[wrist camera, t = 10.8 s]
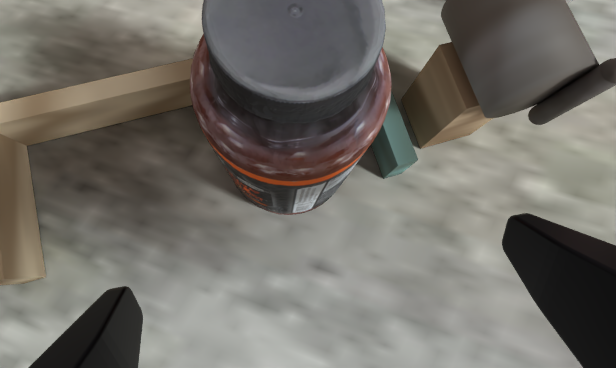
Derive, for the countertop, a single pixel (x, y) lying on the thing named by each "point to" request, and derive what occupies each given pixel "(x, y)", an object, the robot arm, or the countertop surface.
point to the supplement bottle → (290, 94)
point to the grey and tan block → (503, 68)
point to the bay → (100, 113)
